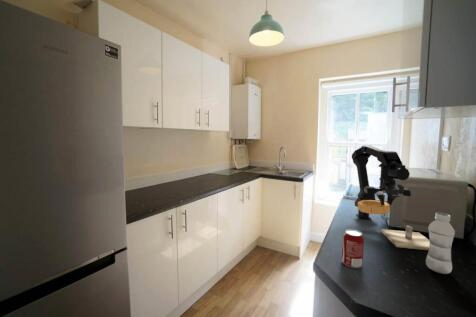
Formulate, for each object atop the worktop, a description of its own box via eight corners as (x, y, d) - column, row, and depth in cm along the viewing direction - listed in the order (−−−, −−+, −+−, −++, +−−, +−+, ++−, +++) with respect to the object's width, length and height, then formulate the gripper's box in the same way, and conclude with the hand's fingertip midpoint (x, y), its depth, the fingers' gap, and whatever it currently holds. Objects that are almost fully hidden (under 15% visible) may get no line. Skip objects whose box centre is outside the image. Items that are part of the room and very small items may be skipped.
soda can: (365, 271, 75) (367, 237, 74) (344, 268, 76) (345, 235, 75) (358, 260, 82) (360, 229, 81) (339, 258, 83) (340, 227, 82)
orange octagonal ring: (355, 206, 118) (355, 200, 117) (382, 206, 114) (382, 200, 114) (363, 213, 105) (362, 206, 105) (393, 214, 102) (393, 206, 102)
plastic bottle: (450, 279, 71) (455, 219, 69) (423, 269, 76) (427, 213, 74) (452, 272, 75) (458, 215, 73) (427, 263, 80) (431, 210, 78)
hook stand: (381, 231, 108) (381, 218, 107) (418, 235, 104) (419, 222, 103) (396, 246, 92) (397, 232, 92) (441, 251, 89) (442, 236, 88)
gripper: (371, 178, 102) (369, 211, 103) (418, 180, 97) (416, 214, 98) (364, 175, 113) (362, 205, 114) (406, 177, 108) (404, 207, 109)
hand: (385, 208), depth 108 cm, fingers closed on orange octagonal ring, 2 cm apart
